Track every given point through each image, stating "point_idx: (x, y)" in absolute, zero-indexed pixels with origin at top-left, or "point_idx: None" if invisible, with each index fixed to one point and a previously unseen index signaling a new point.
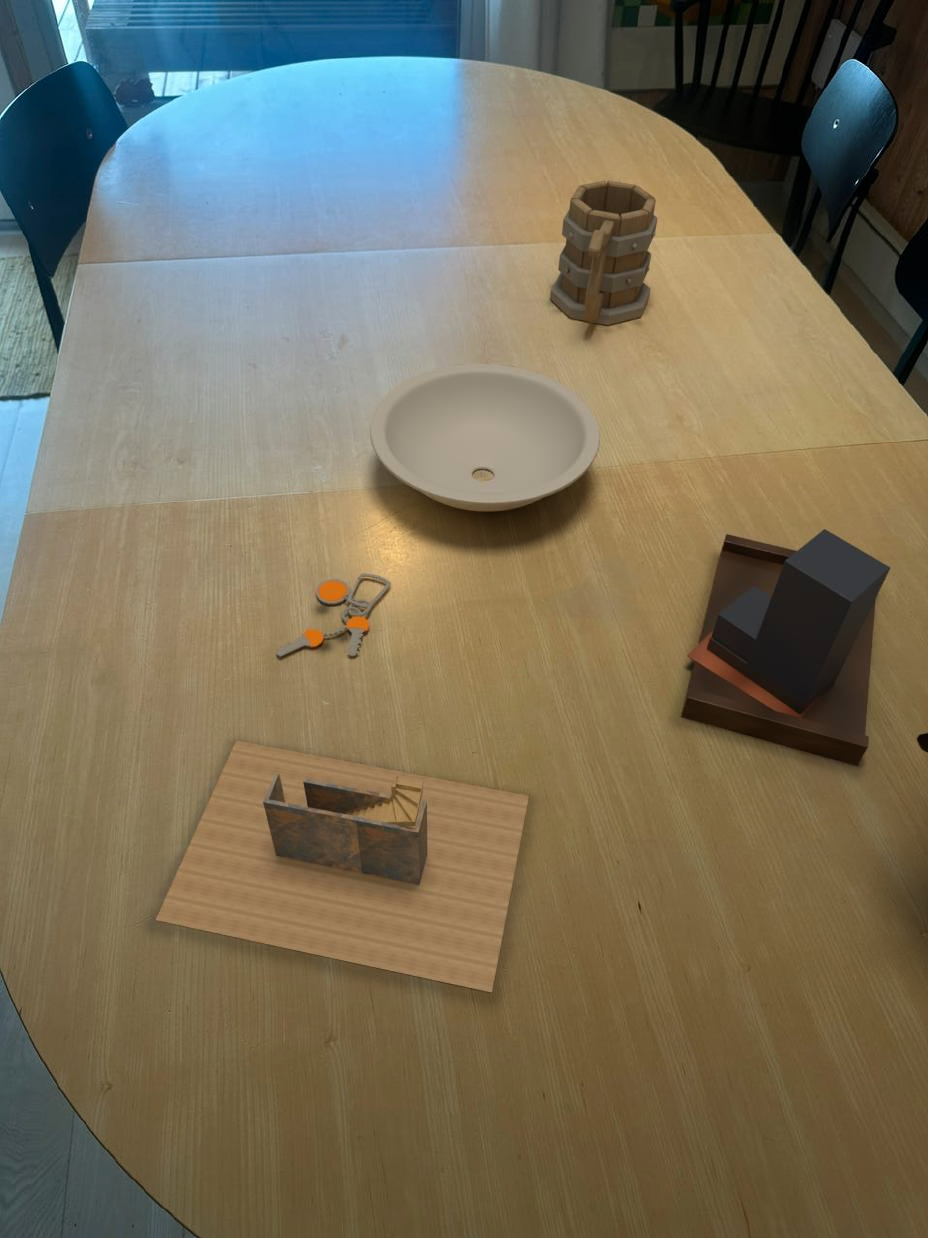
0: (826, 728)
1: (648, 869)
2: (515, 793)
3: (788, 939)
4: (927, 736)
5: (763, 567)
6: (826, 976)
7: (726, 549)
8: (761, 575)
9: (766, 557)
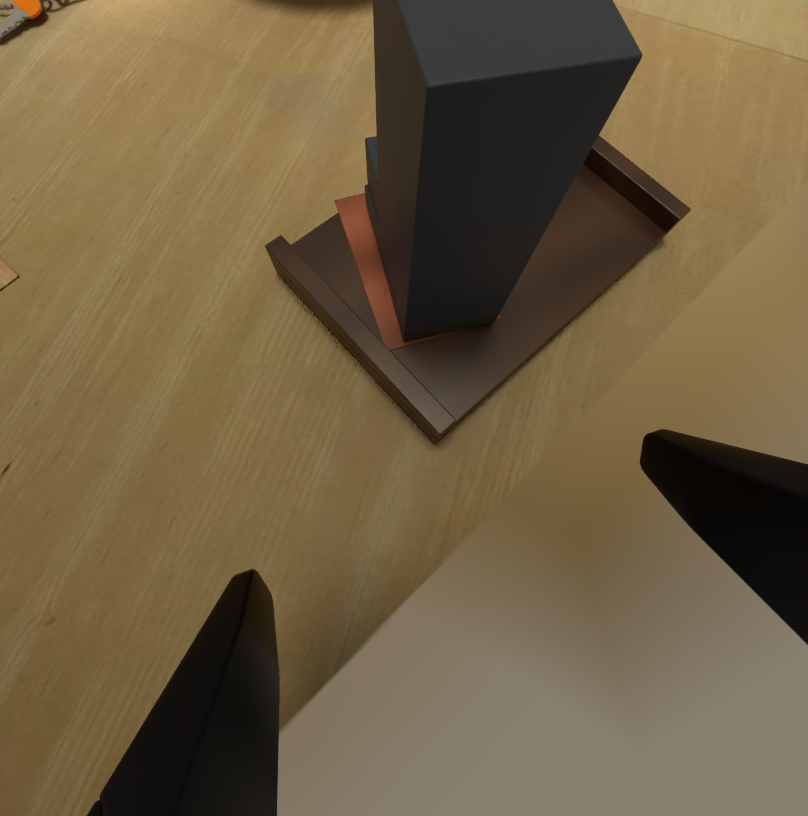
0: (407, 378)
1: (60, 431)
2: (6, 265)
3: (133, 614)
4: (216, 614)
5: None
6: (131, 691)
7: None
8: None
9: None
